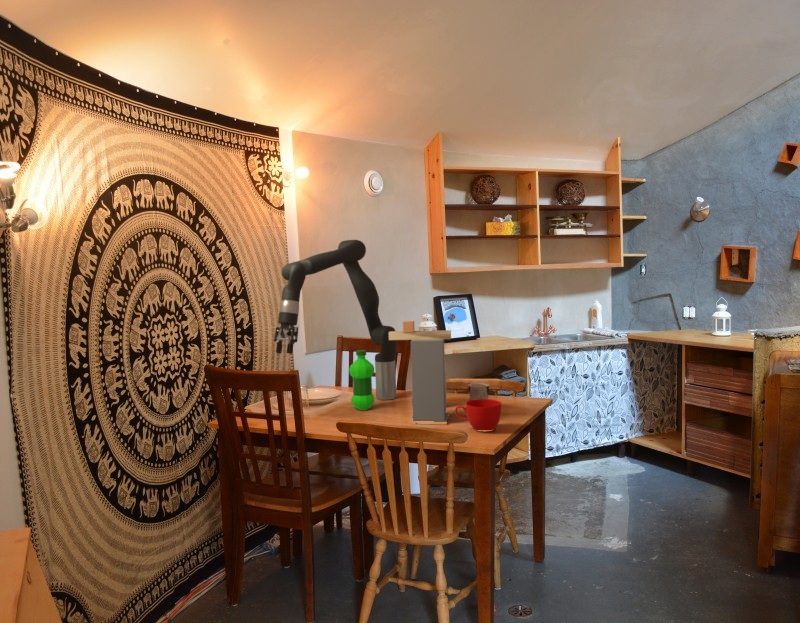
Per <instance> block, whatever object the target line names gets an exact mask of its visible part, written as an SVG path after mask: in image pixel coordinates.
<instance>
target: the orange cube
mask: <svg viewBox="0 0 800 623" xmlns="http://www.w3.org/2000/svg"><path fill="white" fill-rule="evenodd" d="M402 331H403V332H414V331H416V329H415V320H403V321H402Z"/></svg>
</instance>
